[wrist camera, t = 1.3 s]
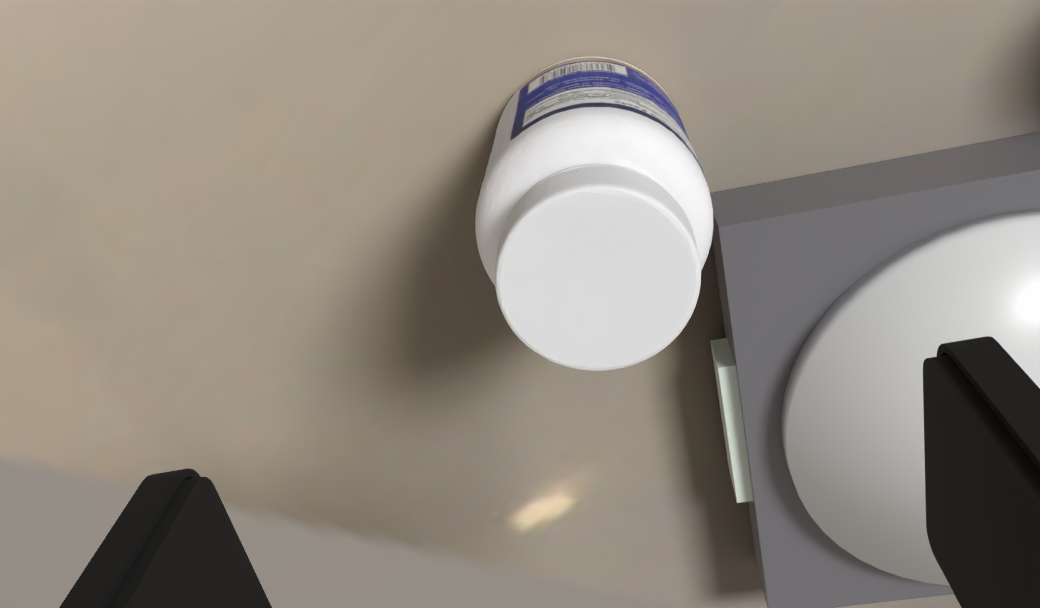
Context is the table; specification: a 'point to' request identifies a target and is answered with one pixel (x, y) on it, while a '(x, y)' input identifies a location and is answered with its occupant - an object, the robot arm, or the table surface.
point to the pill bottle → (594, 215)
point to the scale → (862, 352)
